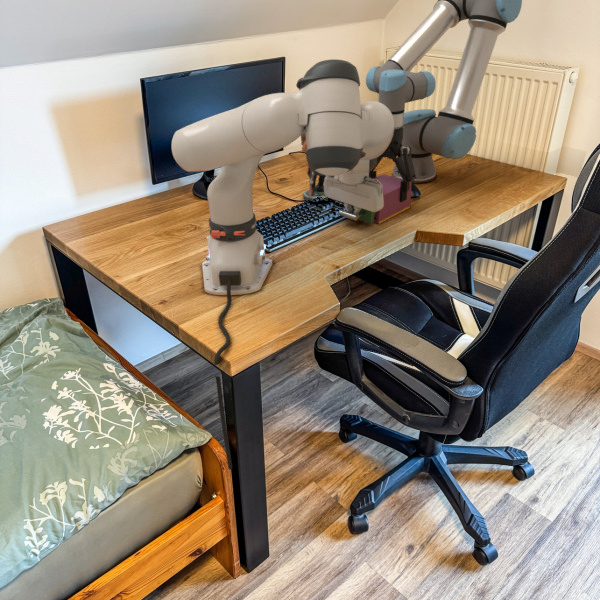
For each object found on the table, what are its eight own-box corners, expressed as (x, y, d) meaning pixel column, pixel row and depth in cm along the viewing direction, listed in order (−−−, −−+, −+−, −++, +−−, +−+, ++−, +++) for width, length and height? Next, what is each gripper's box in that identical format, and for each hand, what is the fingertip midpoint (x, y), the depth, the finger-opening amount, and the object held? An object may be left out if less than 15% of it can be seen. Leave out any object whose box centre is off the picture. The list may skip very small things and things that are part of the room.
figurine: (331, 204, 184) (330, 110, 168) (299, 202, 186) (296, 110, 170) (336, 192, 193) (335, 102, 177) (306, 191, 195) (303, 102, 179)
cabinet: (378, 223, 170) (380, 197, 165) (350, 214, 177) (350, 188, 172) (410, 207, 180) (412, 181, 175) (381, 198, 187) (382, 173, 182)
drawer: (359, 229, 165) (360, 208, 161) (333, 220, 171) (333, 200, 168) (400, 208, 177) (401, 188, 173) (374, 200, 183) (375, 181, 180)
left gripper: (389, 177, 157) (387, 223, 164) (334, 163, 170) (334, 206, 177) (375, 184, 153) (373, 230, 161) (320, 168, 166) (321, 212, 173)
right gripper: (432, 130, 162) (425, 201, 173) (367, 117, 176) (365, 184, 188) (417, 136, 157) (411, 209, 169) (351, 122, 172) (350, 190, 183)
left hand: (352, 217), depth 169 cm, fingers closed
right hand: (387, 196), depth 178 cm, fingers closed on cabinet, 11 cm apart
